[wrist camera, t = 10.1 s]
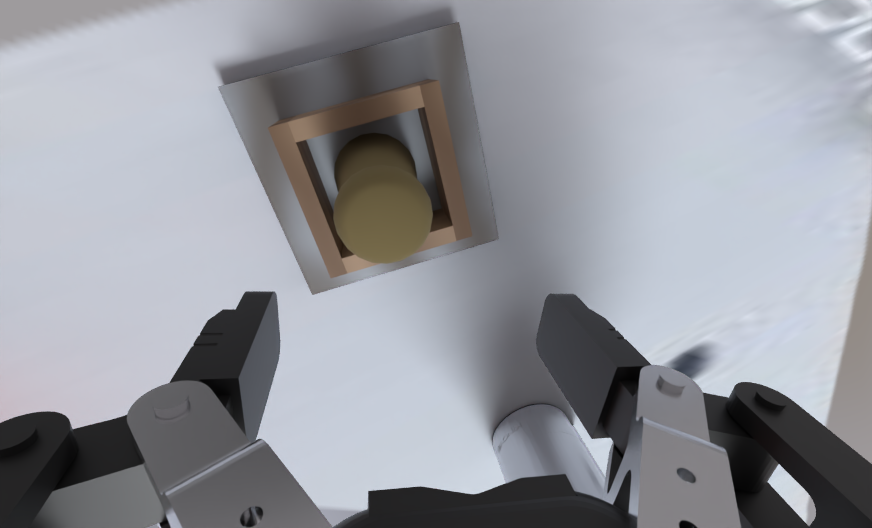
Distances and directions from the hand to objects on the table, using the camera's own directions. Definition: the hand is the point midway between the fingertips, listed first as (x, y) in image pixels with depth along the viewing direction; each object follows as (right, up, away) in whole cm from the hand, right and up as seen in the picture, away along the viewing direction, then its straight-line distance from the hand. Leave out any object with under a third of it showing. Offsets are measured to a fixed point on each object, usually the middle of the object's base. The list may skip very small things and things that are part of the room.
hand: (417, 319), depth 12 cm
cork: (-4, +8, +18) cm, 20 cm away
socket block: (-4, +9, +19) cm, 21 cm away
